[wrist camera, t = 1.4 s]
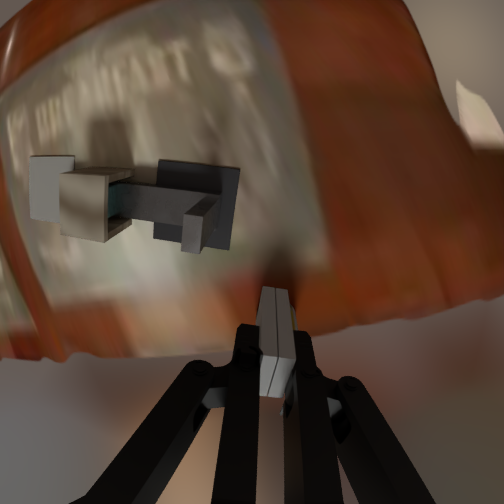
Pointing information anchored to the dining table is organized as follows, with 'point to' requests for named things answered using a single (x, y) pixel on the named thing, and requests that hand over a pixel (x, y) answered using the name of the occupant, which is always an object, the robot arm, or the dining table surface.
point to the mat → (46, 186)
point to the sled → (168, 209)
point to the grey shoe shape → (202, 180)
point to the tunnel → (90, 203)
